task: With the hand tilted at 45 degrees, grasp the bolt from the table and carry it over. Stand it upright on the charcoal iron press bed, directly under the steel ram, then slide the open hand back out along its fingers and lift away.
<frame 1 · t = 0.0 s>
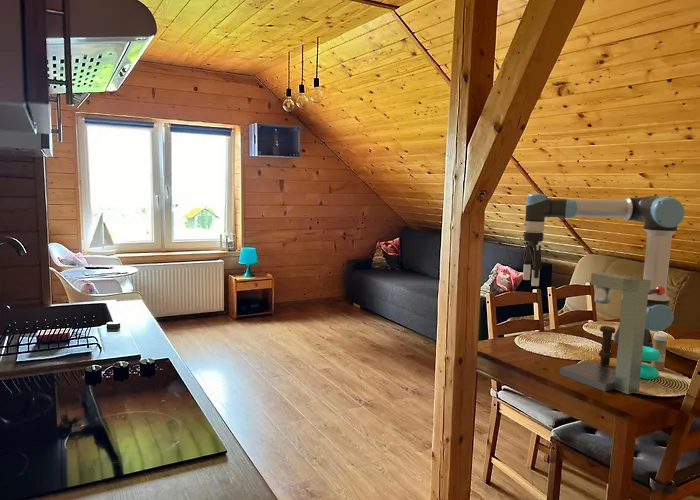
hand: (530, 282, 218), 28 cm above the table, tool pointing down, fingers open, 13 cm apart
donuts: (642, 375, 193), on the table
bolt: (604, 365, 202), on the table
press: (595, 378, 188), on the table
sprinkles bottle: (657, 369, 200), on the table
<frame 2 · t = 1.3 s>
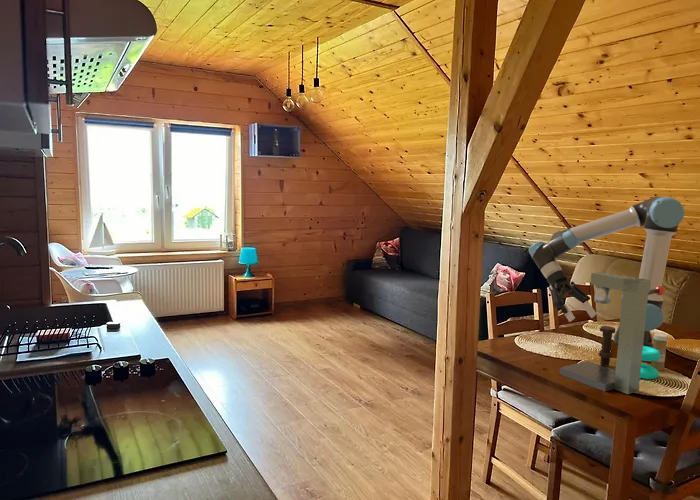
hand: (583, 318, 209), 16 cm above the table, tool tilted 45°, fingers open, 13 cm apart
nothing on the table moved.
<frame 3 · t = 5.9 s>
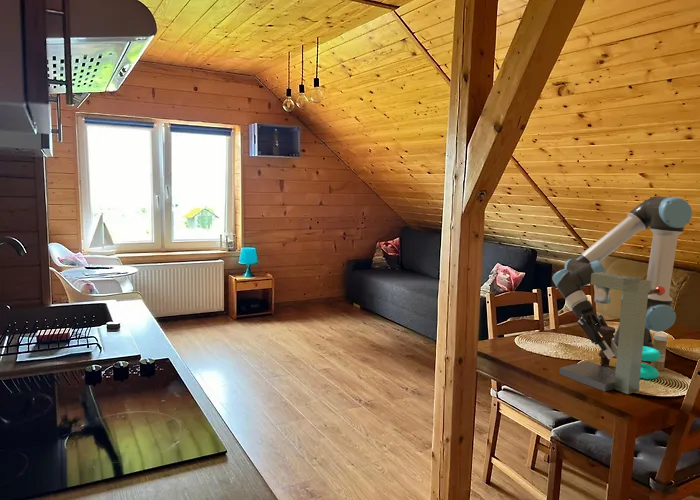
hand: (615, 356, 199), 5 cm above the table, tool tilted 45°, fingers closed on bolt, 4 cm apart
bolt: (604, 365, 202), on the table, touching gripper
everything else where it was.
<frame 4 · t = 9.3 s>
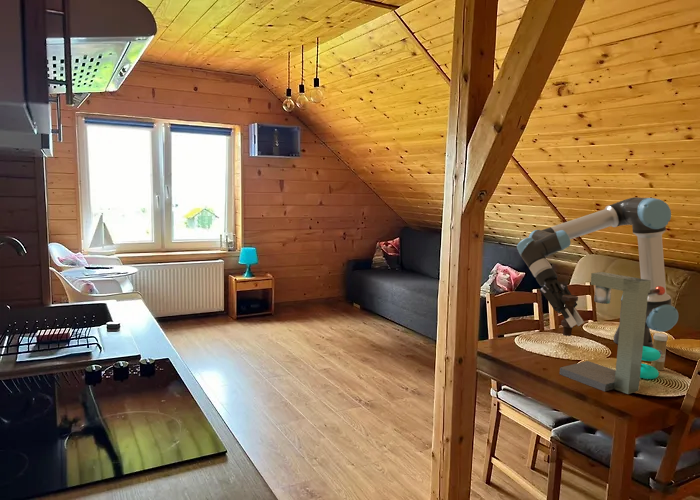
hand: (577, 324, 193), 18 cm above the table, tool tilted 45°, fingers closed on bolt, 3 cm apart
bolt: (566, 335, 197), point 12 cm above the table, touching gripper
everything else where it was.
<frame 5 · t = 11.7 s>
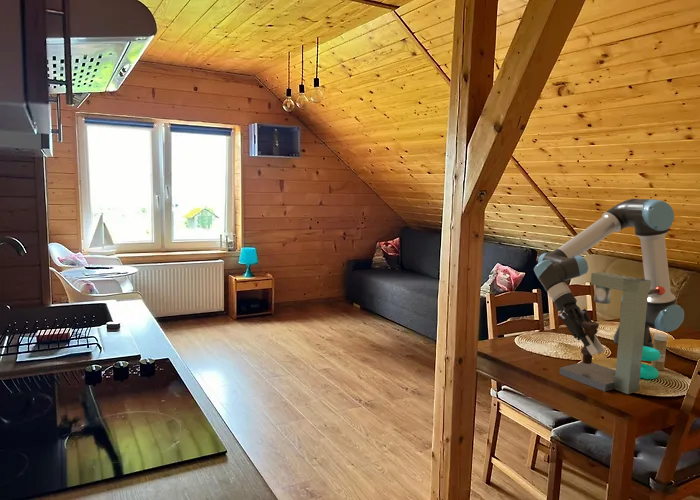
hand: (598, 352, 186), 10 cm above the table, tool tilted 45°, fingers closed on bolt, 3 cm apart
bolt: (586, 363, 190), point 5 cm above the table, touching gripper
everything else where it was.
when the fingers open (8 cm above the table, at t = 13.0 s): bolt stays where it is, resting on press.
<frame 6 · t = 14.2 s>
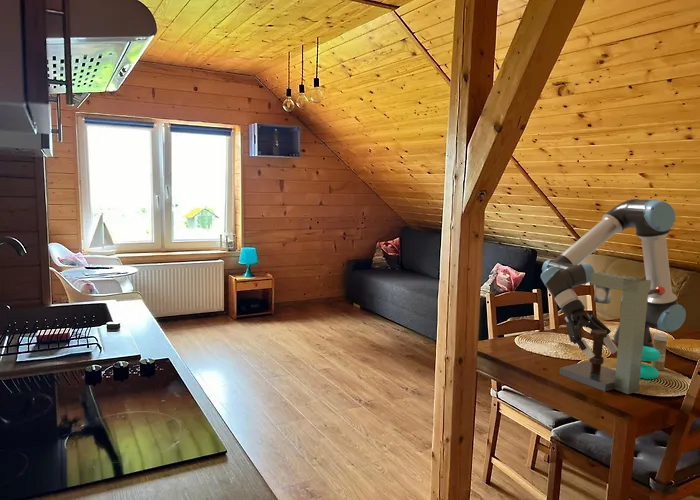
hand: (603, 354, 185), 9 cm above the table, tool tilted 45°, fingers open, 13 cm apart
bolt: (595, 372, 188), point 2 cm above the table, touching press
everything else where it was.
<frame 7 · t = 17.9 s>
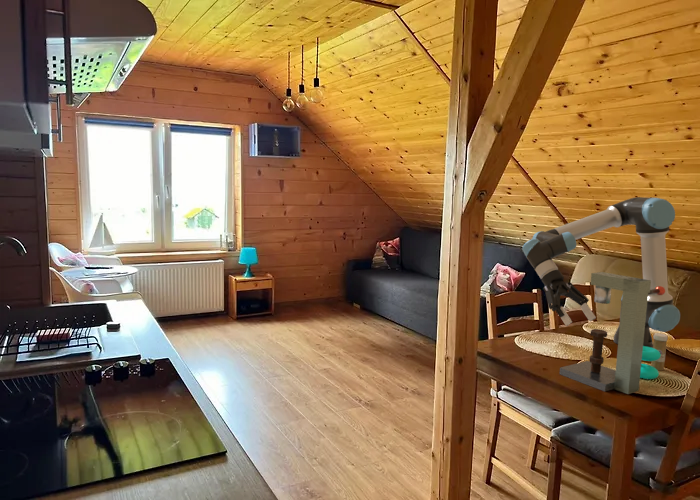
hand: (581, 321, 192), 19 cm above the table, tool tilted 45°, fingers open, 13 cm apart
nothing on the table moved.
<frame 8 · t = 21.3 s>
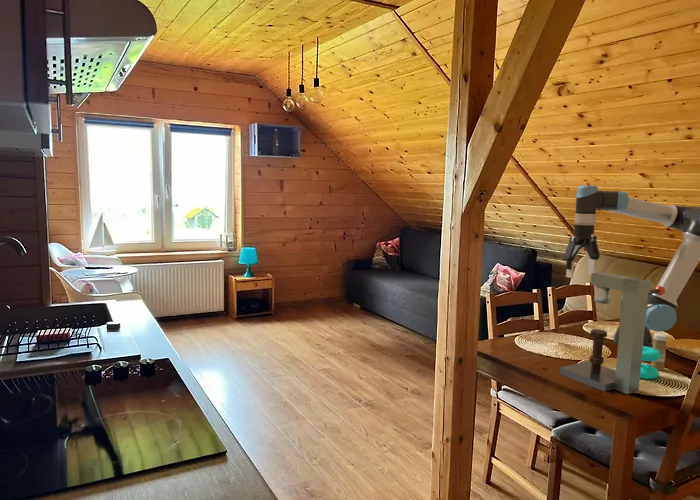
hand: (580, 276, 215), 32 cm above the table, tool pointing down, fingers open, 13 cm apart
nothing on the table moved.
at the end: bolt inside the target area on the press (0.2 cm from its centre), point 2.3 cm above the press's base; bolt tilted 0°; the gripper is holding nothing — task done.
